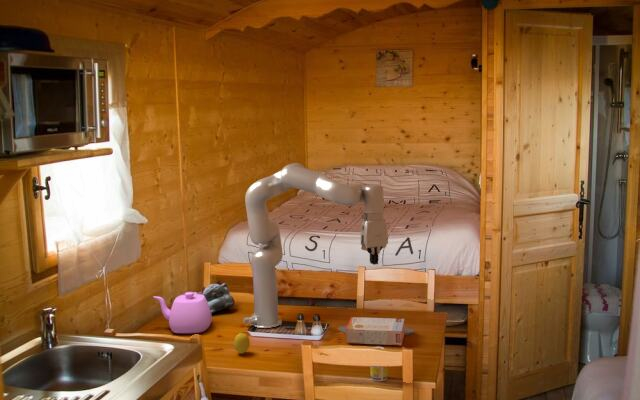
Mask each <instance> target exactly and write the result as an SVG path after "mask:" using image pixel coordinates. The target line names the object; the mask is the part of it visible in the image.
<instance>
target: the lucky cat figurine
mask: <svg viewBox="0 0 640 400" xmlns="http://www.w3.org/2000/svg"><path fill="white" fill-rule="evenodd" d="M228 287H229V286H228V283H225V282H224V283H221V282H220V281H216V282H215V283H211V284H209V285H206V287H205V286H203V287H201V289H200V292H197V293H198V294H202V295H204V296H205V298H206V300H207V302H208V305H209V307H210V311H211V314H214V313H216V312H220V311H221V310H226V309H227V310H228V309H230V308H231V307H234V306H235V305H236V304H235V299H234V297H233V296H232V295H231V293H230V290H229V288H228Z"/></svg>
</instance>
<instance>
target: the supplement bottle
mask: <svg viewBox="0 0 640 400" xmlns="http://www.w3.org/2000/svg"><path fill="white" fill-rule="evenodd" d="M373 348H381V349H385V348H384V347H382V346H373ZM369 369H370V373H369V375H370V379H371V380H372V381H375V382H384V381H386V380H387V379H388V366H387V367H377V366H370V365H369Z"/></svg>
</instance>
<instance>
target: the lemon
mask: <svg viewBox="0 0 640 400" xmlns="http://www.w3.org/2000/svg"><path fill="white" fill-rule="evenodd" d="M233 347H234V349H235V351H236V352H238V353H240V354H241V355H243V354H245V353H247V351H248V350H249V349H250V339H249V336H248V335H247V334H246V333H243V332H239V333H238V334H236V336H235V338H234V340H233Z"/></svg>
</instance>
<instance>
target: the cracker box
mask: <svg viewBox="0 0 640 400" xmlns="http://www.w3.org/2000/svg"><path fill="white" fill-rule="evenodd" d="M405 322H406V321H405V318H387V317H385V318H383V317H362V316H360V317H358V316H355V317H354V316H351V317H350V319H349V322H348V324H347V325H346V326H347V328H346V333H345V342H346V344H365V345H387V346H403V341H404V336H405V335H404V332H405V327H406V326H405Z"/></svg>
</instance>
